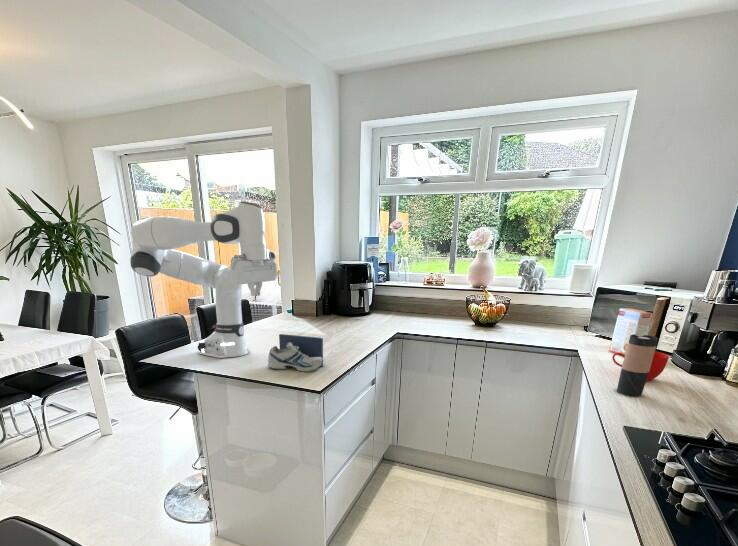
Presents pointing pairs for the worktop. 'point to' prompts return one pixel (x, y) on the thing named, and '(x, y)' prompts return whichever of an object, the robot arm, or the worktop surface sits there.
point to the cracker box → (629, 328)
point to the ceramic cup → (652, 364)
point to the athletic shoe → (292, 359)
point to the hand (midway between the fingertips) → (255, 295)
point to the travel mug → (636, 365)
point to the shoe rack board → (303, 344)
